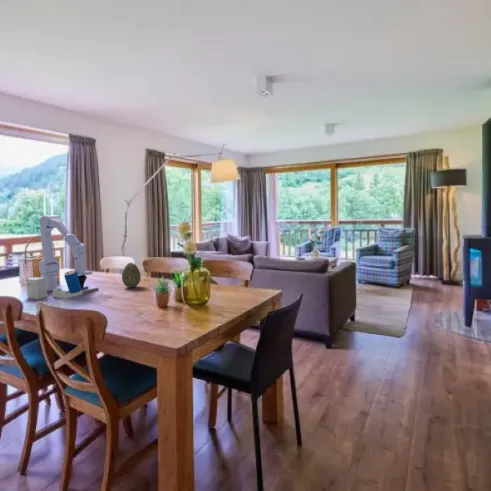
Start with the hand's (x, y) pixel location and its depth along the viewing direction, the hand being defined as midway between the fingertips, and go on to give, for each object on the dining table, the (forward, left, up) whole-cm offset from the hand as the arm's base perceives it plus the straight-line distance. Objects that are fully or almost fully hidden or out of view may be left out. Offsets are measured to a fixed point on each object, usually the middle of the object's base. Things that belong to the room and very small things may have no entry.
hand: (81, 288), depth 209 cm
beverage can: (0, -3, -1) cm, 4 cm away
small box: (-11, -19, -2) cm, 22 cm away
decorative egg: (+17, +22, -2) cm, 28 cm away
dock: (0, -3, -2) cm, 4 cm away
